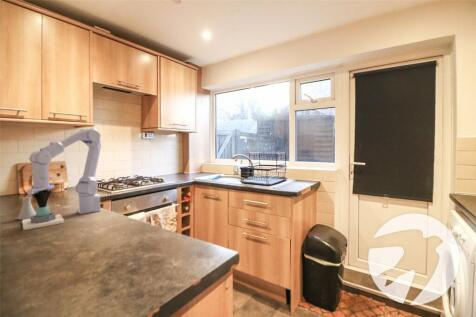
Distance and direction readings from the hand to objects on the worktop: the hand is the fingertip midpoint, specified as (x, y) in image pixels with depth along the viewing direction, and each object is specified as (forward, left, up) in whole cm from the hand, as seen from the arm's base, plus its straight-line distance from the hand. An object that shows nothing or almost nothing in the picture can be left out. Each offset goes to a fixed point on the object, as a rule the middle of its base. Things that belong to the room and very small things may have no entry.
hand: (42, 207), depth 110 cm
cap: (0, 0, -6) cm, 6 cm away
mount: (0, 0, -7) cm, 7 cm away
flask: (+5, -15, -7) cm, 17 cm away
